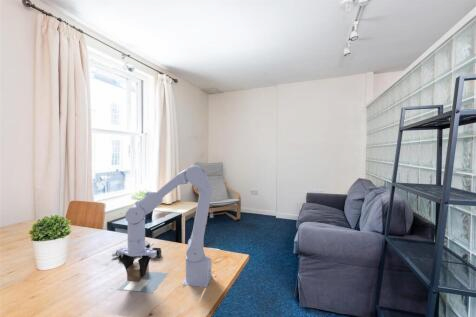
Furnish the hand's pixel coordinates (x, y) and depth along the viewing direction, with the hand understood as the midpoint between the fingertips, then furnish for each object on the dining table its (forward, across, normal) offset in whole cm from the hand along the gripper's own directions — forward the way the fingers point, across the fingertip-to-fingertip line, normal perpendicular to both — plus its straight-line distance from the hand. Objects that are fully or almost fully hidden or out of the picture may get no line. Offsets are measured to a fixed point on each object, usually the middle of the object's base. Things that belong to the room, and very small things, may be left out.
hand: (136, 275), depth 77 cm
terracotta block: (+4, +2, -6) cm, 7 cm away
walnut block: (+1, 0, 0) cm, 1 cm away
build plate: (+5, +4, -20) cm, 21 cm away
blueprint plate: (+4, -2, -2) cm, 5 cm away
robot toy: (+5, +16, -22) cm, 27 cm away
